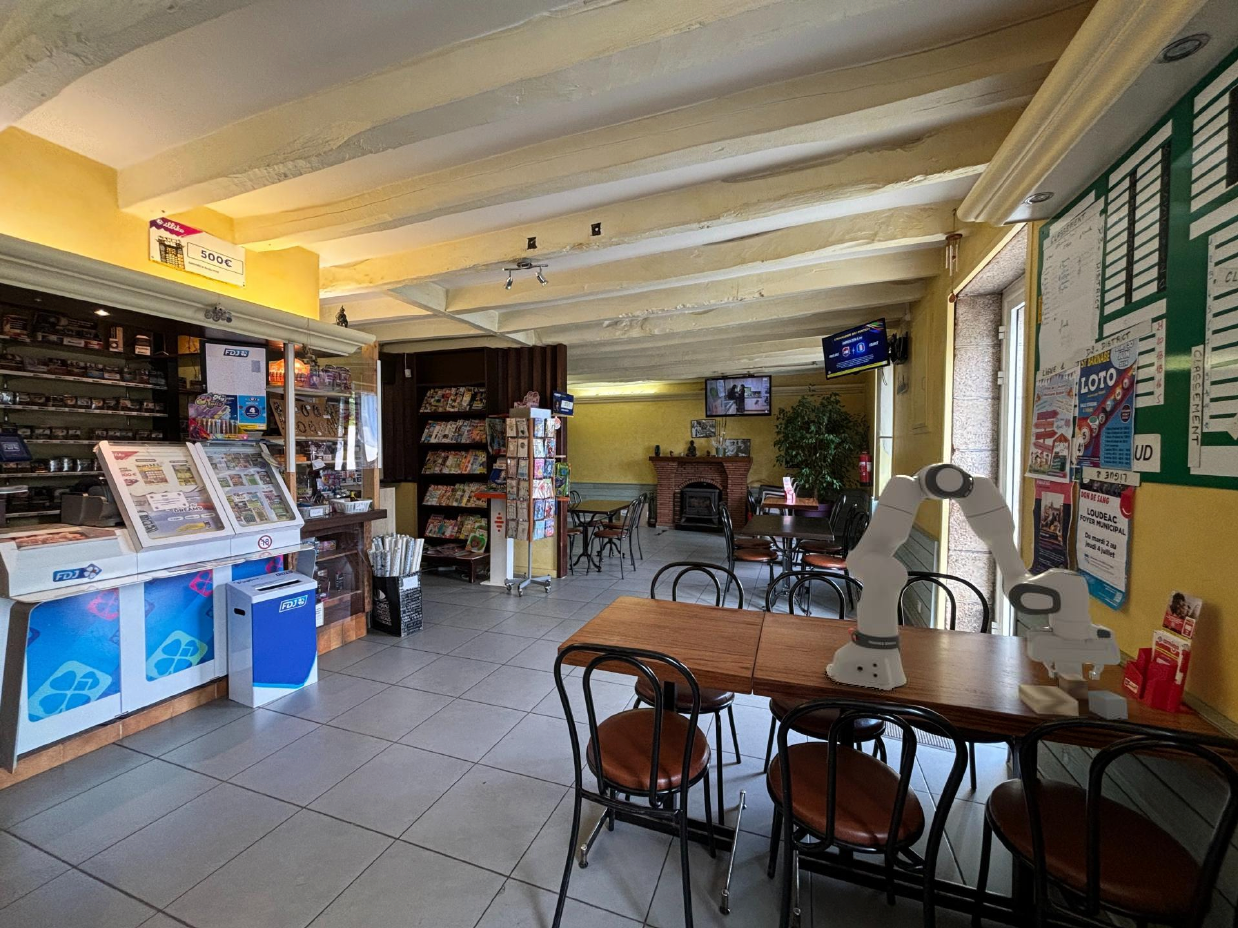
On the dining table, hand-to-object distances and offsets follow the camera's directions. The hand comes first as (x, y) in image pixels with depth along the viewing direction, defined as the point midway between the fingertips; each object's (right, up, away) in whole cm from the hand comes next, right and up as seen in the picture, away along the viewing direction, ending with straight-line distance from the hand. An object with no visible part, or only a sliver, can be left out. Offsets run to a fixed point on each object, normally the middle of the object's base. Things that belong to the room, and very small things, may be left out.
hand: (1073, 678), depth 141 cm
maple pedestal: (-12, -5, -6) cm, 15 cm away
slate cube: (-1, -5, -11) cm, 12 cm away
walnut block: (0, -5, 0) cm, 5 cm away
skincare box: (+8, -5, +11) cm, 14 cm away
